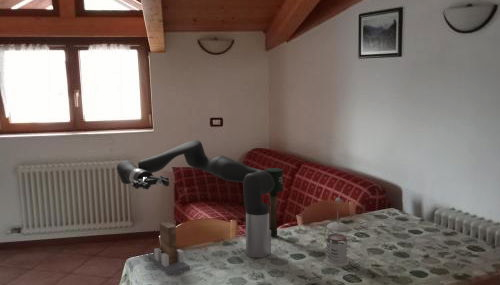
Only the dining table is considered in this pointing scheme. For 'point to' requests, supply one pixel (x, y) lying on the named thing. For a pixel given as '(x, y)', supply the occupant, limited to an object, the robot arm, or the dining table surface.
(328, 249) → the french press
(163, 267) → the hinge base
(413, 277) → the dining table surface
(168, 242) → the brown wooden block
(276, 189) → the potato masher grenade
